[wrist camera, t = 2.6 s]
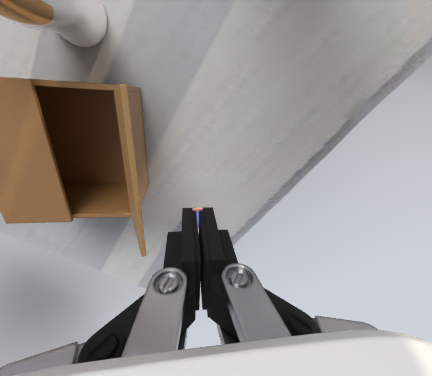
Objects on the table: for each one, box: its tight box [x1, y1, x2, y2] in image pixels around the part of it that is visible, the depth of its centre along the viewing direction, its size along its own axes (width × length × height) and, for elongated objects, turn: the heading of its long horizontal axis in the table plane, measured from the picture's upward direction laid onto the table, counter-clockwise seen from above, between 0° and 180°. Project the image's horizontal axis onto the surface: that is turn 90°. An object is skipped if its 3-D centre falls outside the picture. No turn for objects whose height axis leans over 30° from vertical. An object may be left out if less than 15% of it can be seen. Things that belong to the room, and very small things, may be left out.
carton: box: [0, 77, 149, 223], centre depth 24 cm, size 13×14×10 cm
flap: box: [114, 84, 146, 257], centre depth 18 cm, size 6×14×1 cm
